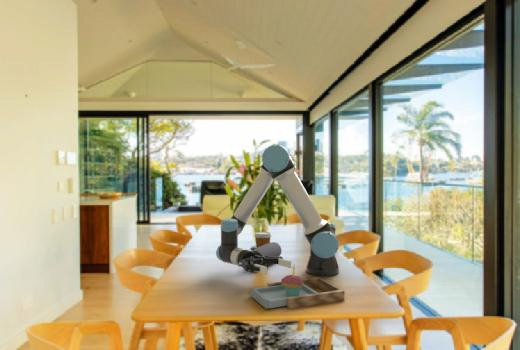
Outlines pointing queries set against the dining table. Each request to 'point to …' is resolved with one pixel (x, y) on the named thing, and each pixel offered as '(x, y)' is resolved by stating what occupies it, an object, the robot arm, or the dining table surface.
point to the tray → (275, 295)
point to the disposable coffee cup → (262, 238)
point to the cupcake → (292, 284)
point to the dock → (330, 295)
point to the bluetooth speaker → (268, 250)
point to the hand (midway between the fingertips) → (279, 267)
